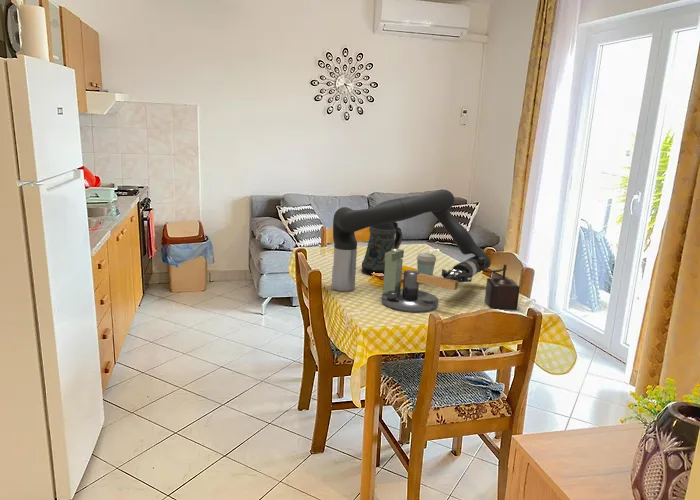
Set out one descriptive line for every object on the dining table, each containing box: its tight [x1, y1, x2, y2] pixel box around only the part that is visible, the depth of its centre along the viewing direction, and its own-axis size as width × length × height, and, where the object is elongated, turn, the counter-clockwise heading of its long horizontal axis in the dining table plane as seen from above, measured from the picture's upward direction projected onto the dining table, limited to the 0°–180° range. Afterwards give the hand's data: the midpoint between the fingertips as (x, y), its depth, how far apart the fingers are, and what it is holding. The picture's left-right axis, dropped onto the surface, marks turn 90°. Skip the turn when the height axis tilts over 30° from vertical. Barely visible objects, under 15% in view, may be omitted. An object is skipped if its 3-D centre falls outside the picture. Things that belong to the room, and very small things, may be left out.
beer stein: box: [361, 222, 403, 277], centre depth 245 cm, size 16×19×25 cm
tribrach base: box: [380, 248, 440, 314], centre depth 204 cm, size 22×22×20 cm
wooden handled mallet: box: [402, 269, 459, 300], centre depth 201 cm, size 21×6×10 cm, turn 58°
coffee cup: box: [416, 252, 437, 276], centre depth 234 cm, size 9×8×12 cm
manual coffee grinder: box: [476, 257, 520, 311], centre depth 207 cm, size 16×11×18 cm
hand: (448, 280), depth 201 cm, fingers closed
